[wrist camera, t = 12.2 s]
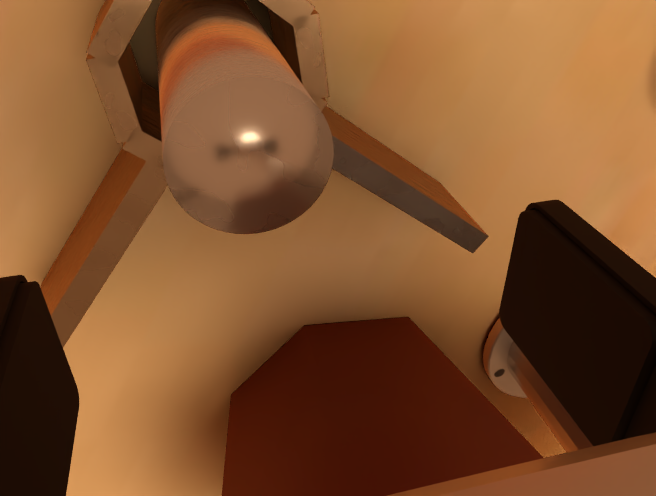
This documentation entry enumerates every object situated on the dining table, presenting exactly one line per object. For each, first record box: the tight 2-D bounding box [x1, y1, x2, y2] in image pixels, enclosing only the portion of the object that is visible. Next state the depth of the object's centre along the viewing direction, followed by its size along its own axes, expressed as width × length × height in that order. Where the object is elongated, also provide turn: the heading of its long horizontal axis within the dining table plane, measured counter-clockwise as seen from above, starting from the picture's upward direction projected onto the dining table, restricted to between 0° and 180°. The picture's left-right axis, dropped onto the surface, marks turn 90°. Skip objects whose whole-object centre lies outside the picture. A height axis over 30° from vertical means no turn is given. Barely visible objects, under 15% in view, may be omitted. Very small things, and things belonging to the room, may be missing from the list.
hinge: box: [41, 0, 488, 347], centre depth 28 cm, size 20×20×6 cm
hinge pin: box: [155, 0, 334, 234], centre depth 20 cm, size 4×4×14 cm
